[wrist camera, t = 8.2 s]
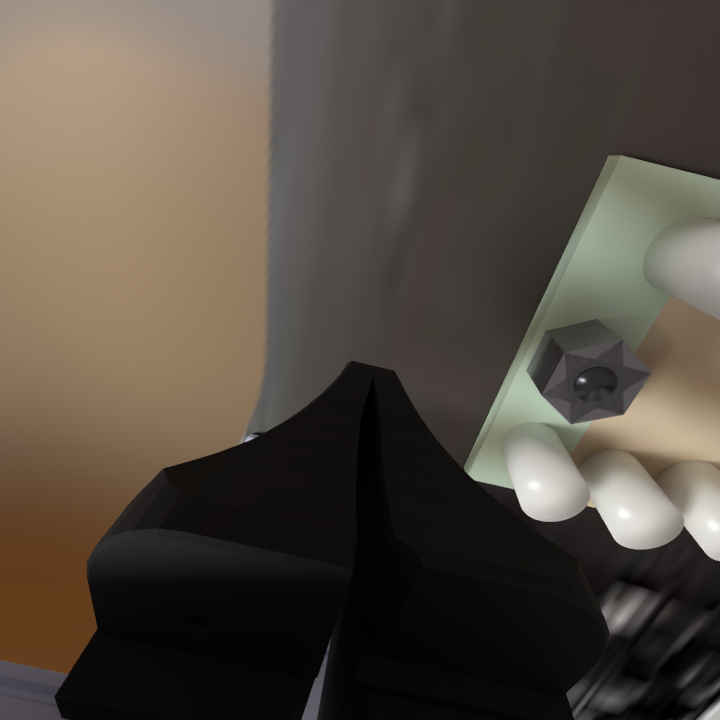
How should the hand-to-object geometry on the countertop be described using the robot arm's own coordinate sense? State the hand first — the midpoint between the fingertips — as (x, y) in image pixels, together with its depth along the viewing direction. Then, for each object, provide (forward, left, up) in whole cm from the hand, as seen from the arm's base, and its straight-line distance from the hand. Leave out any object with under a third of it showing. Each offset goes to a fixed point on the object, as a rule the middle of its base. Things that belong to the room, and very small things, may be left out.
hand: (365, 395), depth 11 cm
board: (-1, -15, -10) cm, 18 cm away
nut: (-1, -10, -9) cm, 14 cm away
